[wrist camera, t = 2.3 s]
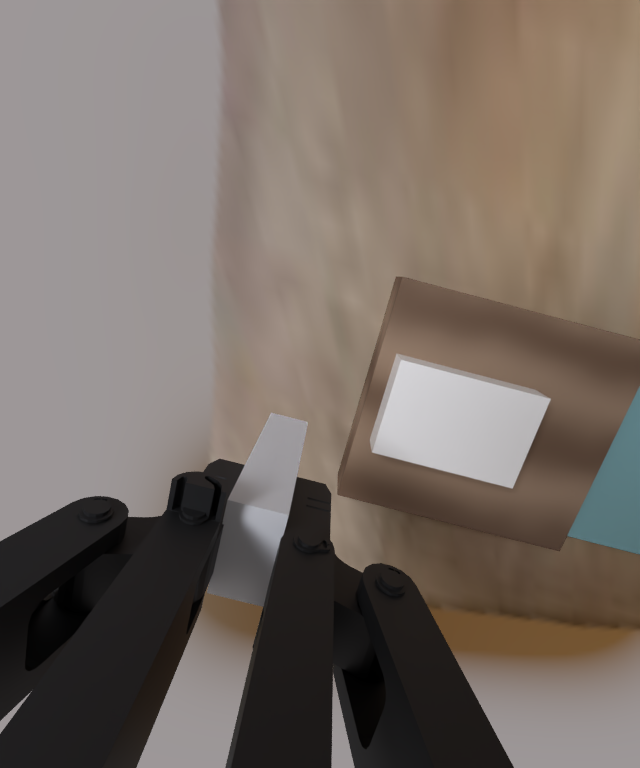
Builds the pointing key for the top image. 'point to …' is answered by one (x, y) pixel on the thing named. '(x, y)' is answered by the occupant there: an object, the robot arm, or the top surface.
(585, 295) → the top surface
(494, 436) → the white slab
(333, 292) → the top surface
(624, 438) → the mat
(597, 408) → the brown wooden flat block
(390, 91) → the top surface
